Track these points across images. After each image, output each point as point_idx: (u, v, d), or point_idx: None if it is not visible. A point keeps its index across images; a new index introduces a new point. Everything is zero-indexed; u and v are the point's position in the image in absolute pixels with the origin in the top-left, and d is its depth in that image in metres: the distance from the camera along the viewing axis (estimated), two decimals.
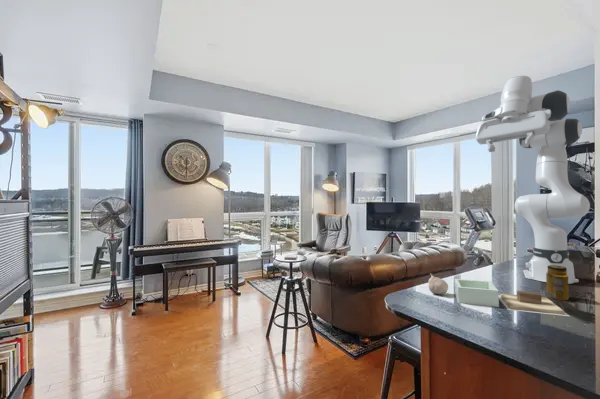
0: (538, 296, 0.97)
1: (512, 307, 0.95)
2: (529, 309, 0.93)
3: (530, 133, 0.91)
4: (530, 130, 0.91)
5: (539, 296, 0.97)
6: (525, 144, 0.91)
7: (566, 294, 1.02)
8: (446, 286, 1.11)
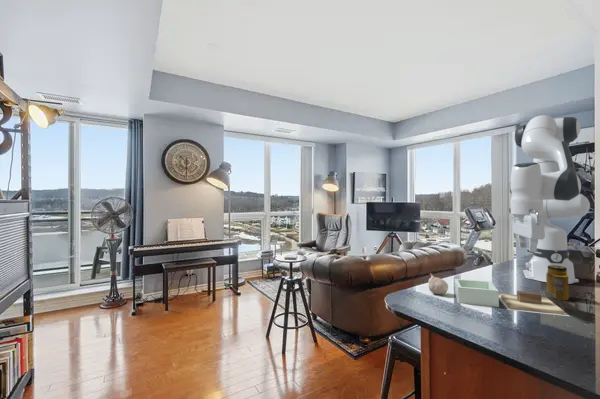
0: (538, 296, 0.97)
1: (512, 307, 0.95)
2: (529, 309, 0.93)
3: (529, 240, 0.94)
4: (528, 237, 0.94)
5: (539, 296, 0.97)
6: None
7: (566, 294, 1.02)
8: (446, 286, 1.11)
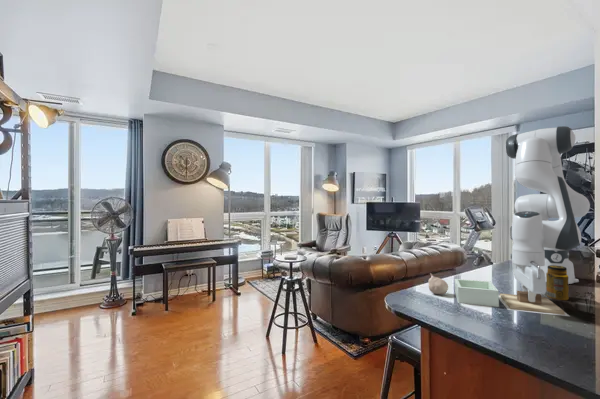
0: (538, 296, 0.97)
1: (512, 307, 0.95)
2: (529, 309, 0.93)
3: (528, 290, 0.96)
4: None
5: (539, 296, 0.97)
6: (529, 300, 0.97)
7: (566, 294, 1.02)
8: (446, 286, 1.11)
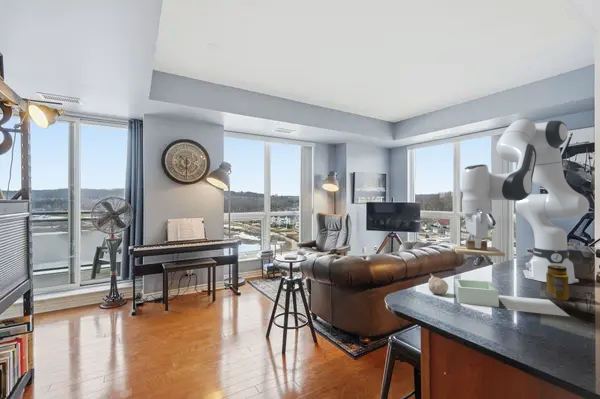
0: (484, 243, 1.03)
1: (459, 252, 1.01)
2: (474, 253, 0.99)
3: (474, 237, 1.02)
4: (474, 235, 1.00)
5: (485, 243, 1.02)
6: (475, 247, 1.03)
7: (566, 294, 1.02)
8: (446, 286, 1.11)
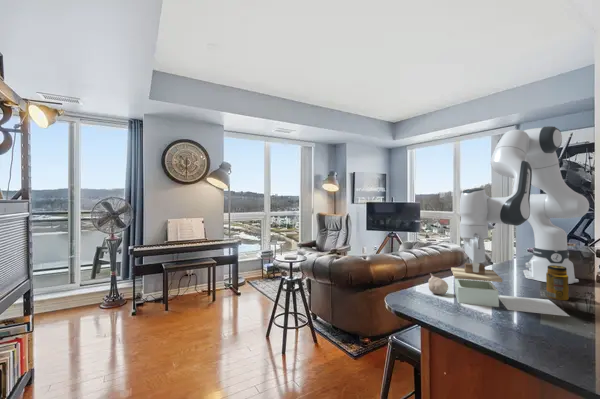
0: (482, 267, 1.03)
1: (456, 277, 1.01)
2: (471, 278, 1.00)
3: (472, 261, 1.02)
4: None
5: (483, 267, 1.03)
6: (473, 271, 1.03)
7: (566, 294, 1.02)
8: (446, 286, 1.11)
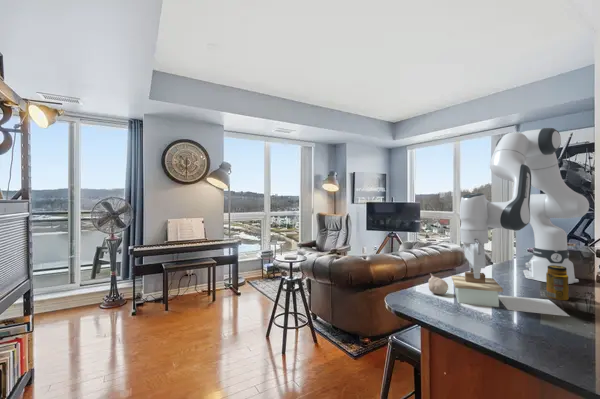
0: (482, 276, 1.03)
1: (457, 286, 1.01)
2: (472, 288, 1.00)
3: (473, 267, 1.01)
4: None
5: (483, 276, 1.03)
6: None
7: (566, 294, 1.02)
8: (446, 286, 1.11)
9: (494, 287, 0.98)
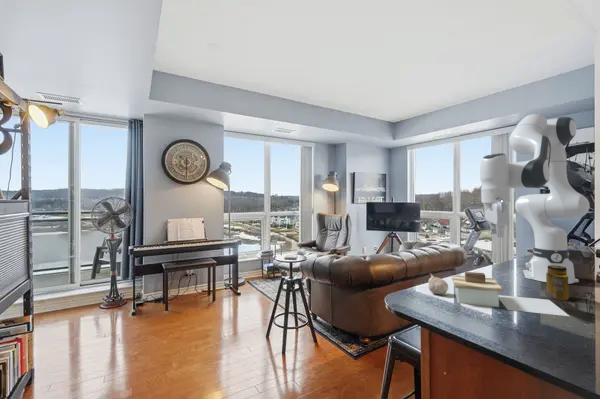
0: (482, 276, 1.03)
1: (457, 286, 1.01)
2: (472, 288, 1.00)
3: (497, 226, 1.01)
4: (495, 224, 1.01)
5: (483, 276, 1.03)
6: (498, 236, 1.02)
7: (566, 294, 1.02)
8: (446, 286, 1.11)
9: (494, 287, 0.98)
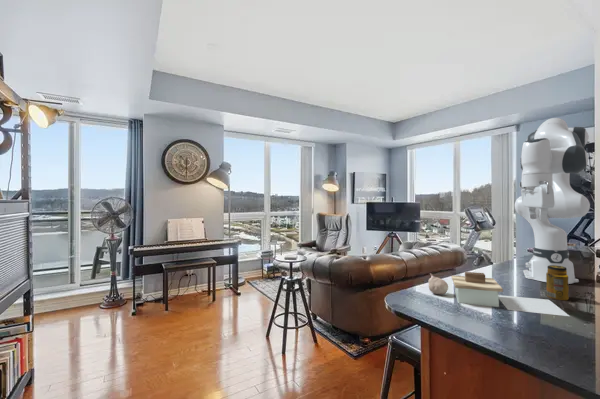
0: (482, 276, 1.03)
1: (457, 286, 1.01)
2: (472, 288, 1.00)
3: (540, 209, 1.01)
4: (538, 207, 1.01)
5: (483, 276, 1.03)
6: (540, 220, 1.02)
7: (566, 294, 1.02)
8: (446, 286, 1.11)
9: (494, 287, 0.98)
